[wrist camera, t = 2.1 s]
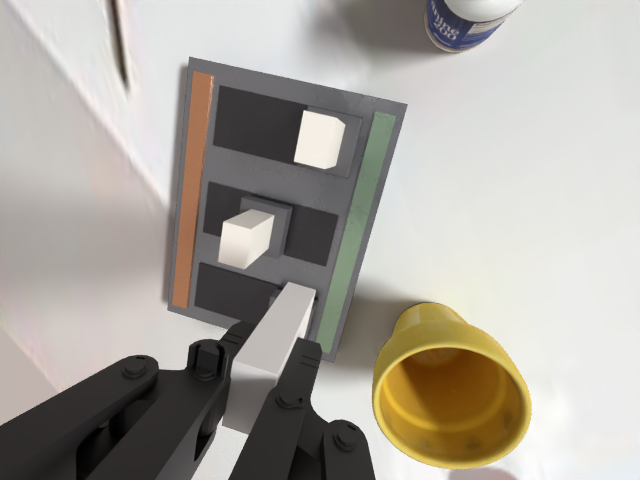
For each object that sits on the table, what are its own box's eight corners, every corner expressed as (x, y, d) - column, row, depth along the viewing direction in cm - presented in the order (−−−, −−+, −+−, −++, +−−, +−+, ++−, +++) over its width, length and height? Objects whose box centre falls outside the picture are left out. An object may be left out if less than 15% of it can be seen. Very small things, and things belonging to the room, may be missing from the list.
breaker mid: (249, 195, 27) (210, 208, 21) (292, 206, 27) (266, 223, 21) (241, 241, 29) (203, 266, 23) (283, 253, 28) (256, 282, 22)
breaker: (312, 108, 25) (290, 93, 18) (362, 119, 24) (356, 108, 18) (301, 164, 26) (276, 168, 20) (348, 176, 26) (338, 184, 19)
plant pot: (354, 312, 31) (343, 380, 22) (452, 263, 28) (487, 317, 19) (407, 392, 33) (418, 487, 23) (506, 353, 30) (563, 445, 20)
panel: (202, 63, 28) (187, 55, 25) (405, 107, 26) (407, 103, 24) (179, 301, 35) (166, 311, 33) (336, 350, 33) (333, 363, 31)
